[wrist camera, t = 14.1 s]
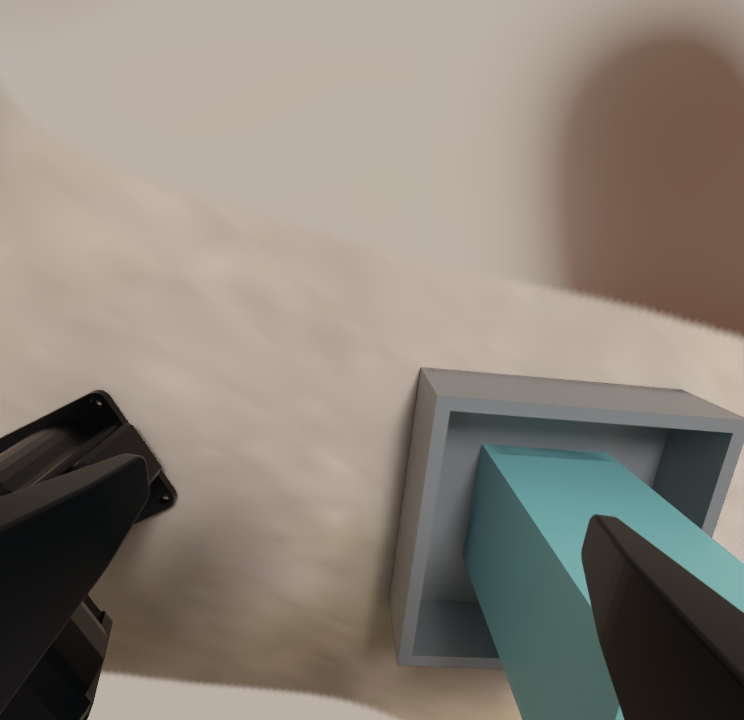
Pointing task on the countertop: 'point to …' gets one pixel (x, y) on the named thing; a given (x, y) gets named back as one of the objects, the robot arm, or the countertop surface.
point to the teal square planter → (565, 568)
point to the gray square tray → (535, 430)
